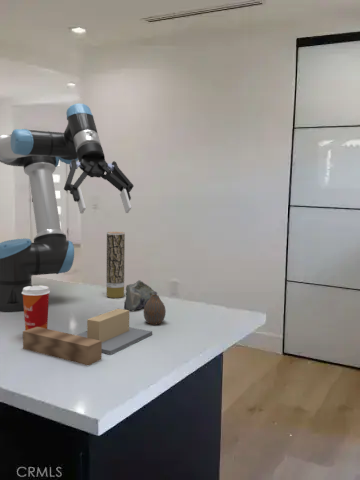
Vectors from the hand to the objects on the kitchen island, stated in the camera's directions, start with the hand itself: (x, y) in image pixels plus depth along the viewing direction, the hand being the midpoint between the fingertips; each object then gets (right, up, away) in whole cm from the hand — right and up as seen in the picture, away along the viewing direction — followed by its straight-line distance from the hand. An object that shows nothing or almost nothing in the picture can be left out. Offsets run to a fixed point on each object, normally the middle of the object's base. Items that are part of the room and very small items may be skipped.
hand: (106, 210), depth 134 cm
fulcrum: (0, -36, +2) cm, 36 cm away
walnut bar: (-10, -37, -10) cm, 40 cm away
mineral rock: (+7, -32, +39) cm, 51 cm away
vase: (+12, -34, +20) cm, 42 cm away
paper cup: (-20, -36, +4) cm, 41 cm away
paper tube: (-5, -30, +55) cm, 63 cm away
